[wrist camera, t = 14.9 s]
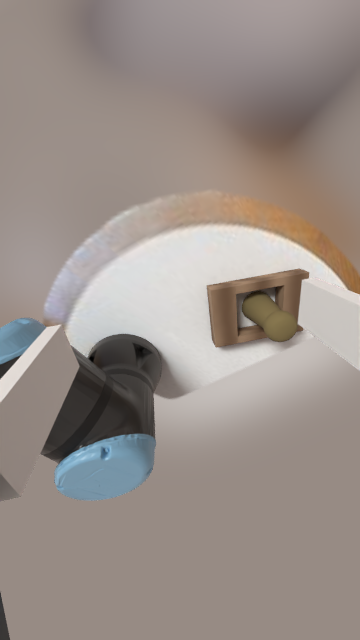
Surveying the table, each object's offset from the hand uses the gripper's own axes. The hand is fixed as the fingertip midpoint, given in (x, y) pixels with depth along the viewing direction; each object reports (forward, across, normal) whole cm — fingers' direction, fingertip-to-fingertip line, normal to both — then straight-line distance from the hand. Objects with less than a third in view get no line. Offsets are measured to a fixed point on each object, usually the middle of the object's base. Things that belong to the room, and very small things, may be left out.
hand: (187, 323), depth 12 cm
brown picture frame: (+29, +16, -14) cm, 36 cm away
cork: (+29, +17, -14) cm, 36 cm away
